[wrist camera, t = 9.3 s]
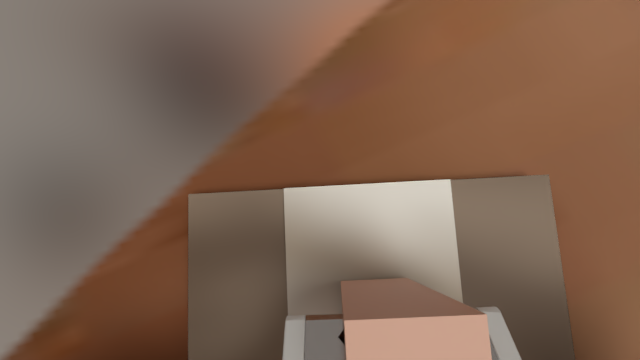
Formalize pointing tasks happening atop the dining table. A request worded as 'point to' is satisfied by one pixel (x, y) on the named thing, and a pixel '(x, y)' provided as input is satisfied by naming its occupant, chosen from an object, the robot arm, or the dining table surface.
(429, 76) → the dining table surface
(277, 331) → the board with dashed strip
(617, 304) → the dining table surface
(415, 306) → the stub
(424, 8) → the dining table surface
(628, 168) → the dining table surface
